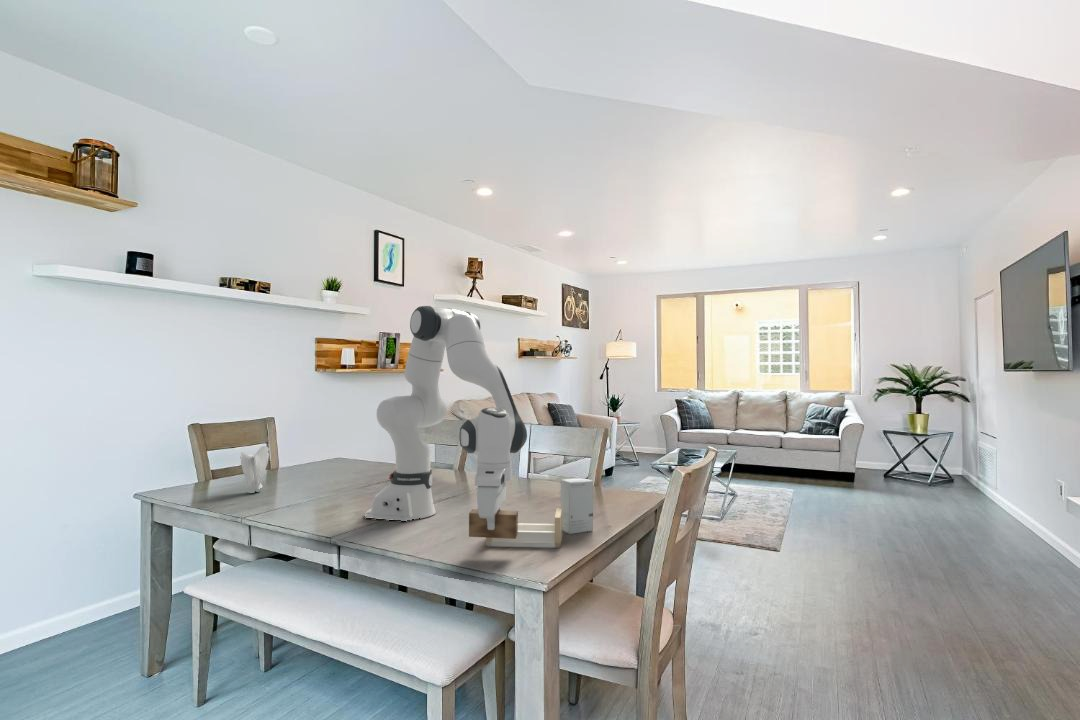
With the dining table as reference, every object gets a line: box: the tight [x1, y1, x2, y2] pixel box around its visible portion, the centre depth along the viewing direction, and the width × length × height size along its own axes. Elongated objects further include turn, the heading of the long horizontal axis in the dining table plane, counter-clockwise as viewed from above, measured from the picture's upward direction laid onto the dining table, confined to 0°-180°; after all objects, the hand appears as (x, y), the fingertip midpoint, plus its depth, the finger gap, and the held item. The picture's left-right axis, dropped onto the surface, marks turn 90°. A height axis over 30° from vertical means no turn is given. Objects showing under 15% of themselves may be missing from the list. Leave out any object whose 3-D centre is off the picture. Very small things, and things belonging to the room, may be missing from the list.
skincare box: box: [560, 477, 594, 535], centre depth 161 cm, size 8×6×15 cm
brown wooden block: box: [468, 508, 519, 539], centre depth 140 cm, size 12×4×6 cm, turn 84°
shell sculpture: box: [240, 445, 270, 490], centre depth 212 cm, size 8×8×18 cm
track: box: [485, 507, 563, 549], centre depth 151 cm, size 20×10×8 cm, turn 85°
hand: (493, 525), depth 140 cm, fingers closed on brown wooden block, 4 cm apart
